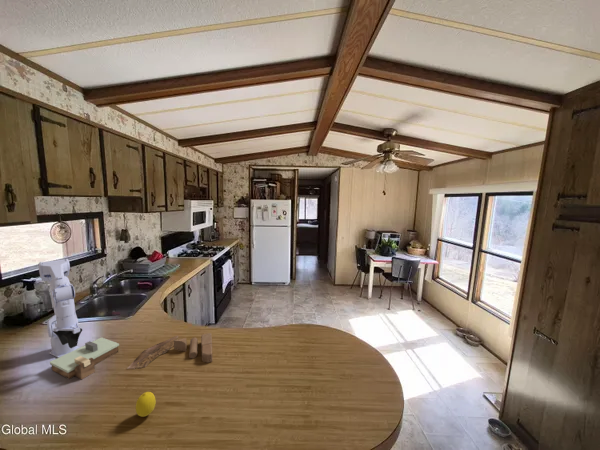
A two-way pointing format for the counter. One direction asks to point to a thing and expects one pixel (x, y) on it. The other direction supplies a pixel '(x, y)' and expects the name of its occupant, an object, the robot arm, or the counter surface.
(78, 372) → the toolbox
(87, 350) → the lid
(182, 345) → the wooden block set
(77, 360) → the key
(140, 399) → the lemon
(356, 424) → the counter surface
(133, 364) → the wooden fragment
